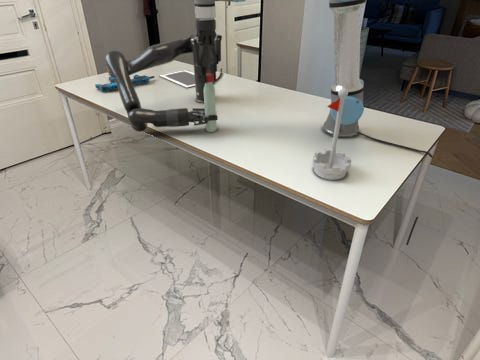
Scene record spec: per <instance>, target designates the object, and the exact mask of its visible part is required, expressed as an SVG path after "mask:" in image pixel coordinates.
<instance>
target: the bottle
mask: <svg viewBox="0 0 480 360" xmlns="http://www.w3.org/2000/svg"><path fill="white" fill-rule="evenodd" d="M203 104H204V109H205V115H208V116H209V115H217V103H216V90H215V85H214V83H212V82H207V83H205V86H204V103H203ZM217 127H218V126H217V120H214V121H209V122H208V123H207V124H205V131H206V132H209V133H213V132H216V131H217V130H218V128H217Z"/></svg>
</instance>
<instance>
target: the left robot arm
mask: <svg viewBox="0 0 480 360" xmlns="http://www.w3.org/2000/svg"><path fill="white" fill-rule="evenodd" d="M196 34H197V32H195V33H194V34H191V35H187V36H185V37H183V38H180V39H176V40H170V41H166V42H161V43H156V44H153V45H151V46H149V47H147V48H146V49H145V50H144V51H142V52H141V53H140V54H139V55H138V56H136V57H135V58H132V59H129V60H127V57H126V55H125V54H124V53H123V52H121V51H120V50H110V51H108V52H106V54H105V57H104V63H105V66H106V70H107V73H108V75H109V77H112V78H115V80H116V83H117V87H118V88H117V89H118V93H119V97H120V100H121V102H122V105H123V107H124V110H125V112H126V114H127V119H128V122H129V124H130V127H131V128H132V129H133V130H134V131H135V132H144V131H145V130H146V129H147V128H148V124H151V125H153V127H155V128H165V127H170V128H176V127H178V128H179V127H188V126H189V125H190V123H192V124H193V125H194V126H202V125H206V124H207V123H208V122H209V121H214V120H216V121H218V119H219V118H218V115H217V114H216V115H209V116H208V115H205V108H197V107H196V108H195V107H193V108H191V109H192V110H191V111H190V110H189V109H188V108H187V107H184V108H181V107H180V108H169V109H162V110H161V109H159V110H156V109H155V110H154V109H151V108H150V109H149V108H142V105H141V101H140V99H139V95H138V94H137V91H136V88H135V87H134V85H133V84H132V81H131V79H132V78H131V75H135V74H136V73H139V72H142V71H145V70H148V69H152V68H154V67H159V66H162V65H166V64H170V63H172V62H174V61H175V60H177V59H179V58H180V57H181V56H184V55H188V54H193V48H192V43H191V41H190V39H191V38H192V39H194V38H195V37H196ZM198 47H199V41H198ZM199 49H200V47H199ZM210 63H212V61H211V57H210V52H209V47H208V46H207V48H206V51H205V60H204V66H206V73H211V72H210ZM193 73H194V75H195V86H194V88H195V100H196V102H198V103H202V104H204V86H205V83H203V82H201V74H199V66H197V65H195V64H194V63H193ZM222 73H223V68H220V74H219V76H218V77H216V81H213V82H212V83H213V84H215V83H216V82H217V81H218V80H219V79H220V78H221V77H222V75H223V74H222Z"/></svg>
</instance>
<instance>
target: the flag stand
mask: <svg viewBox="0 0 480 360" xmlns="http://www.w3.org/2000/svg"><path fill="white" fill-rule="evenodd" d="M338 95H339V97H340V98H339V99H338V100H336V101H335V102H333V103H332V104H331V103H330V104H328V105H326V107H327V108H329V109H330V108H331V109H333V110H336V111H338V112H337V118H336V124H335V130H334V136H332V143H331V148H330V149H329V148H328V149H324V152H321V151H320V150H317V151H315V152H314V154H313V155H314V156H312V166H313V168H314V169H313V170H314V173H315V174H316V175H317V176H318V177H320V178H322V179H325V180H330V181H333V180H340V179H343V178H345V176H346V173H347V172H348V171H350V169H351V166H352V158H351V157H350V156H346V153H345V152H343V151H339V150H338V151H337V145H338V138H339V137H338V134H339V128H340V123H341V117H342V111H343V105H344V99H345V97H346V96H347V95H348V91H347V90H346V89H344V88H342V89H340V90H339V92H338ZM336 151H337V152H336Z"/></svg>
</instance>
